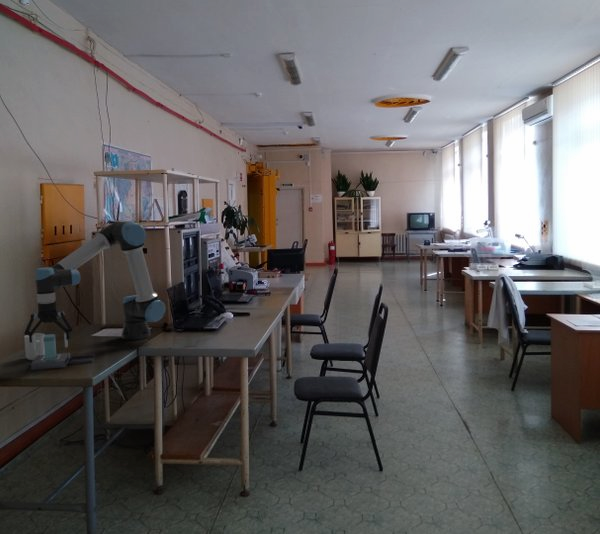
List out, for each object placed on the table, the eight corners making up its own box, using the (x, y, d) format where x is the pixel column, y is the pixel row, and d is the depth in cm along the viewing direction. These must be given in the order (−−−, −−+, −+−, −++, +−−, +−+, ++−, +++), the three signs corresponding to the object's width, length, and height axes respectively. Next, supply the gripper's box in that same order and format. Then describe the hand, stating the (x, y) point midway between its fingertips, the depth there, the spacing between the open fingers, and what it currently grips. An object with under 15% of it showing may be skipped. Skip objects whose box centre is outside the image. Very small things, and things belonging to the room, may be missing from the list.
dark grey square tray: (95, 357, 261) (94, 354, 261) (92, 363, 252) (92, 359, 251) (72, 359, 259) (72, 355, 259) (69, 365, 249) (68, 361, 249)
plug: (57, 363, 253) (55, 334, 251) (55, 366, 249) (53, 336, 247) (47, 364, 252) (45, 334, 250) (45, 367, 248) (43, 336, 246)
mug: (24, 357, 264) (22, 335, 263) (44, 354, 269) (42, 332, 268) (29, 363, 254) (27, 339, 253) (49, 359, 260) (48, 336, 258)
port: (70, 359, 259) (69, 352, 258) (65, 368, 245) (64, 360, 245) (38, 362, 255) (37, 354, 255) (31, 371, 242) (30, 363, 242)
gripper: (77, 298, 253) (80, 343, 256) (18, 302, 248) (22, 348, 250) (74, 301, 246) (78, 347, 249) (14, 305, 240) (18, 352, 243)
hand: (50, 348), depth 249 cm, fingers open, 13 cm apart
